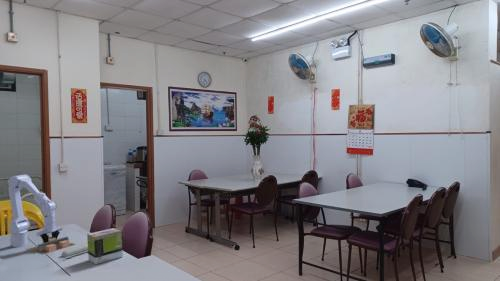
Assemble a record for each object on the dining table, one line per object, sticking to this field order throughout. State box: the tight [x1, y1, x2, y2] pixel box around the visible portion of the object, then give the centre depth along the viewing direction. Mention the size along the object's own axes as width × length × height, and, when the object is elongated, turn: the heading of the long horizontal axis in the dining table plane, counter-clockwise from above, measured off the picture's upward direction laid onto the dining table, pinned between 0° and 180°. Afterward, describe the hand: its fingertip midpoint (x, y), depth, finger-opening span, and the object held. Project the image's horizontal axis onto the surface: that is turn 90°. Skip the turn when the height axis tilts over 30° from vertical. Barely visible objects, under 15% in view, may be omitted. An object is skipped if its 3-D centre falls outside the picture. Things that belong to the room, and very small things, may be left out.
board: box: [25, 242, 77, 255], centre depth 209 cm, size 18×20×2 cm
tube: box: [61, 242, 88, 260], centre depth 202 cm, size 5×5×25 cm
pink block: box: [45, 244, 57, 253], centre depth 203 cm, size 4×4×3 cm
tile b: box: [59, 240, 70, 249], centre depth 210 cm, size 4×4×3 cm
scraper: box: [37, 235, 70, 252], centre depth 210 cm, size 9×17×5 cm, turn 150°
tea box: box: [86, 227, 124, 265], centre depth 192 cm, size 15×10×15 cm, turn 134°
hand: (50, 245), depth 210 cm, fingers closed on scraper, 4 cm apart
